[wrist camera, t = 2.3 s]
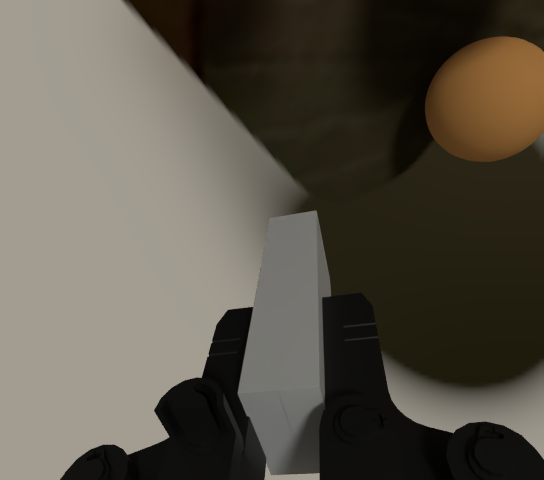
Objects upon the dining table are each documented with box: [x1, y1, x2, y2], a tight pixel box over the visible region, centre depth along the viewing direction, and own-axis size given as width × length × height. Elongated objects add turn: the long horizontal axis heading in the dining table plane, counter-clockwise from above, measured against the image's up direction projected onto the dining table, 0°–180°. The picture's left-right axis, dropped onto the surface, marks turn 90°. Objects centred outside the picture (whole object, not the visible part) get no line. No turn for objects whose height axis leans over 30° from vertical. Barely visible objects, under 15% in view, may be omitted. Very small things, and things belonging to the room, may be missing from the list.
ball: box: [425, 36, 544, 162], centre depth 21 cm, size 6×6×6 cm
